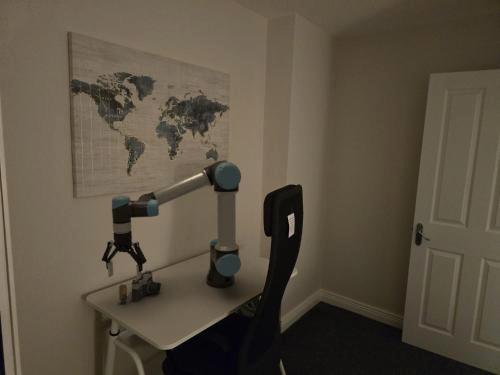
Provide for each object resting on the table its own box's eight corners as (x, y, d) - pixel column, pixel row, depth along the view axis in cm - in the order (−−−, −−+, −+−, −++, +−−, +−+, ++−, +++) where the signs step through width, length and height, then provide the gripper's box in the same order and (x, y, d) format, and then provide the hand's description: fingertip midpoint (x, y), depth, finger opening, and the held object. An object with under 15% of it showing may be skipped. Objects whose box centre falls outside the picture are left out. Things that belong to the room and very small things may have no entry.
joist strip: (143, 288, 164) (143, 288, 164) (125, 305, 147) (125, 305, 147) (136, 288, 164) (136, 287, 164) (117, 304, 148) (117, 304, 148)
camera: (150, 303, 149) (150, 283, 148) (129, 301, 151) (129, 280, 150) (164, 288, 165) (164, 269, 163) (145, 286, 166) (145, 267, 165)
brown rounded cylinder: (128, 301, 150) (128, 285, 149) (124, 304, 147) (124, 288, 146) (121, 300, 151) (121, 284, 150) (118, 304, 148) (117, 287, 147)
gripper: (153, 230, 146) (154, 275, 149) (101, 227, 150) (104, 271, 153) (145, 235, 139) (147, 282, 142) (91, 232, 143) (94, 278, 146)
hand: (124, 277), depth 148 cm, fingers open, 13 cm apart
